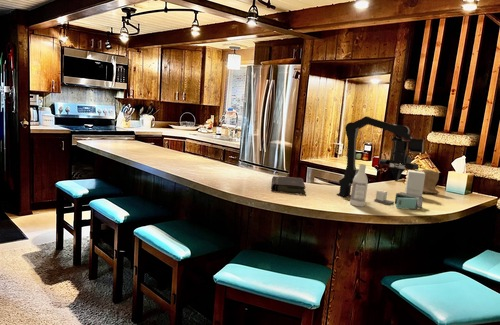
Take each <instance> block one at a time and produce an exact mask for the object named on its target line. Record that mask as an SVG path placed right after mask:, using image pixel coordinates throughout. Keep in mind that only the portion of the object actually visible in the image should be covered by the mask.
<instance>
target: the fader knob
mask: <svg viewBox="0 0 500 325" xmlns="http://www.w3.org/2000/svg"><path fill="white" fill-rule="evenodd" d="M387 196H388V191H385V190H382V189H380V190H376V194H375V199H377V200H381V201H384V200H387Z"/></svg>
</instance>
